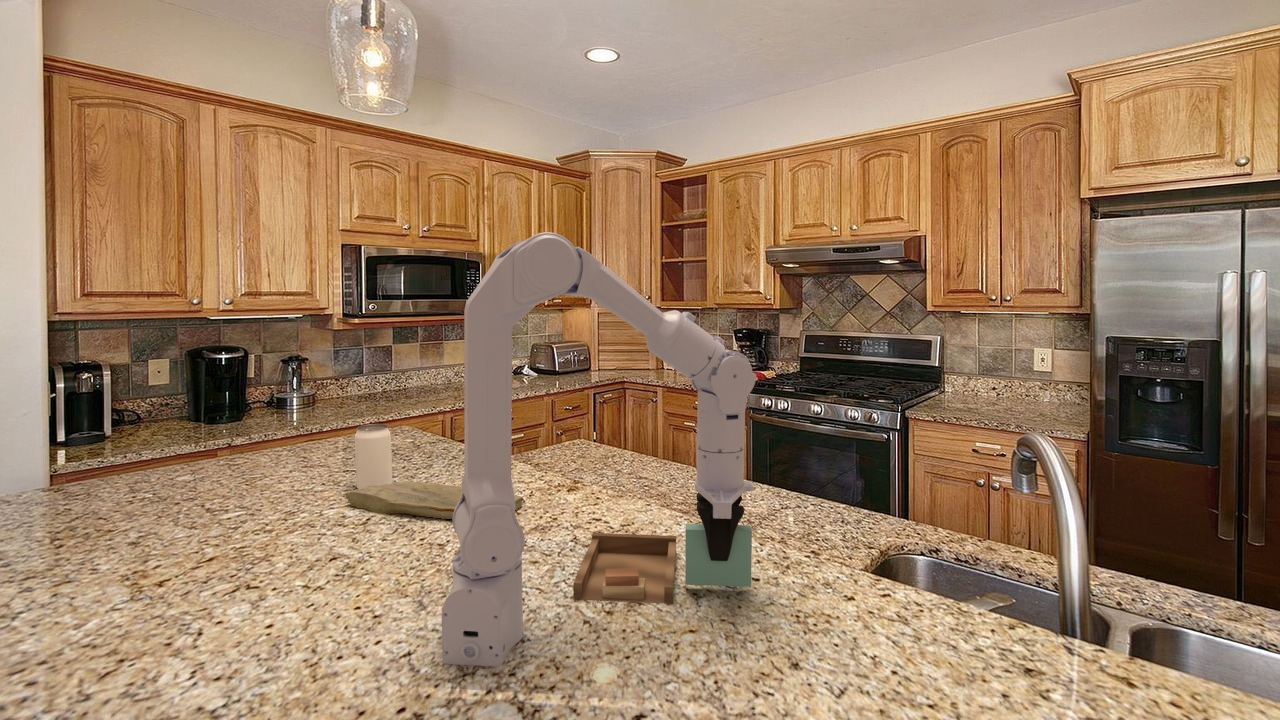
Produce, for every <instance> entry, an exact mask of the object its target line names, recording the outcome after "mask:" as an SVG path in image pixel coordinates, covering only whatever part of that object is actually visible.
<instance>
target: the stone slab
mask: <svg viewBox="0 0 1280 720" xmlns="http://www.w3.org/2000/svg"><path fill="white" fill-rule="evenodd" d="M461 491H462V486H459V485H449V484H443V483H434V482H433V483H428V482H427V483H426V482H418V481H417V482H415V481H400V482H399V481H397V482H396V481H395V482H392V483H391V484H385V485H375V486H367V487H364V488H362V489H358V488H357V489H356V488H355V489H352V490H350V491H346V493H345V498H346V500H347V502H348V503H349V504H350V505H351V507H355V508H356V509H365V510H368V511H369V512H371V513H374V514H381V513H382V514H383V513H387V514H410V515H412V516H420V517H427V518H429V517H433V518H432V519H436V518H441V519H440V520H445V519H452V520H451V521H453V513H454V510H455V508H456V506H457V504H458V502H459V500H460V497H461ZM514 497H515V510H516V511H518V510H519V509H520V507H521V506H522V505H523V500H524V497H522V496H520V495H515V494H514ZM522 507H523V506H522ZM522 507H521V508H522ZM518 508H519V509H518ZM517 509H518V510H517ZM382 514H381V515H382ZM383 515H384V514H383Z"/></svg>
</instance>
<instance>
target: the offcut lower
mask: <svg viewBox="0 0 1280 720" xmlns="http://www.w3.org/2000/svg"><path fill="white" fill-rule="evenodd" d="M644 596H645V578H639V585H637V586H606V577H605V580H604V583H603V598H609V599H631V600H644Z"/></svg>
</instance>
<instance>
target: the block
mask: <svg viewBox="0 0 1280 720" xmlns="http://www.w3.org/2000/svg"><path fill="white" fill-rule="evenodd" d="M752 537H753V530H752V526H751V524H750V525H747V524H738V525H737V527H736V530H735V533H734V537H733V541H732V546H731V551H730V555H729V558H728V561H711V559H710V556H709V551H708V545H707V538H706V532H705V528H704V525H703V523H685V548H684V551H685V555H684V556H685V569H684V572H685V573H684V574H685V577H684V578H685V581H684V583H685V585H687V586H689V585H690V586H712V587H713V586H714V587H715V586H717V587H720V586H721V587H740V588H741V587H743V588H745V587H746V588H751V587H752V557H753V556H752V553H753V552H752V548H753V547H752V541H753V539H752Z"/></svg>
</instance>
